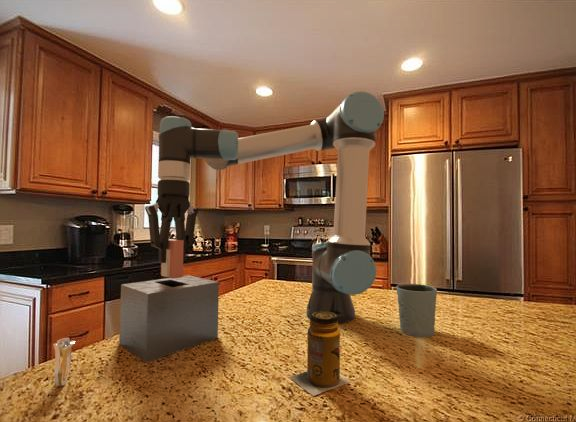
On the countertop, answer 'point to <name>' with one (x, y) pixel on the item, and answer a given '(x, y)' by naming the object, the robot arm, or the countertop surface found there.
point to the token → (175, 258)
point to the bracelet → (62, 371)
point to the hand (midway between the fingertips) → (171, 275)
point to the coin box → (168, 315)
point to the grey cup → (417, 309)
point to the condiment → (322, 355)
